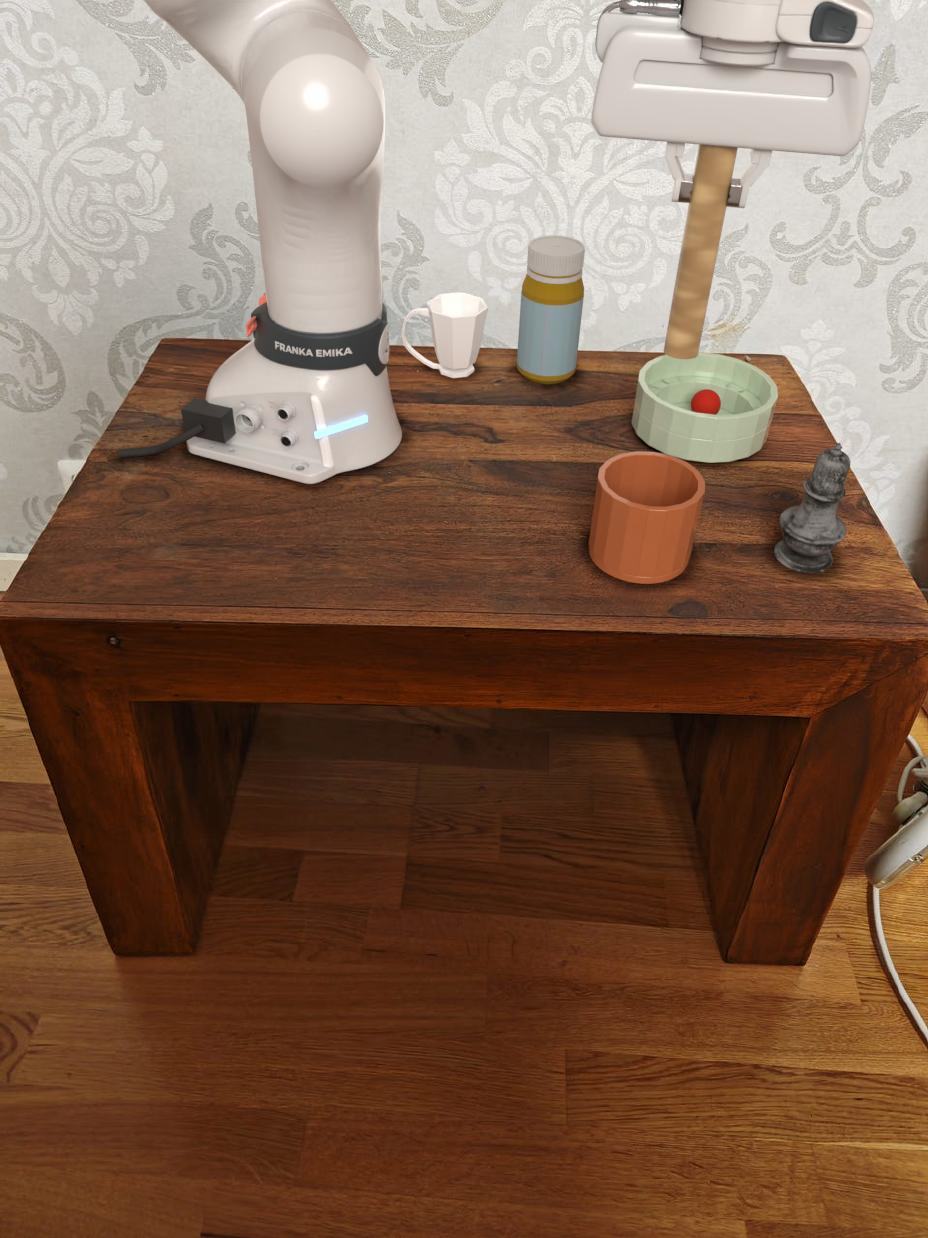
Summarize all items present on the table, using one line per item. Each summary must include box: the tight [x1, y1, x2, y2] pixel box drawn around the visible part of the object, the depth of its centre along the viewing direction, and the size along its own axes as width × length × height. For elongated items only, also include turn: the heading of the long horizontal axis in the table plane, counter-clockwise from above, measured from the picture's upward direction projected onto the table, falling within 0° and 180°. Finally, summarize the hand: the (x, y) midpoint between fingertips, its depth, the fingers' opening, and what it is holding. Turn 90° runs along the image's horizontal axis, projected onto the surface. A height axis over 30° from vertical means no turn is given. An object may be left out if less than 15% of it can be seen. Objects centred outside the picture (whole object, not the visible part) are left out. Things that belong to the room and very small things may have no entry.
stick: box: [663, 144, 739, 359], centre depth 80 cm, size 3×3×18 cm
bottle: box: [516, 235, 586, 385], centre depth 110 cm, size 7×7×15 cm
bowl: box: [631, 351, 779, 464], centre depth 104 cm, size 14×14×6 cm
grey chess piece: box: [773, 442, 852, 574], centre depth 86 cm, size 6×6×12 cm
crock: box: [587, 450, 706, 585], centre depth 87 cm, size 9×9×8 cm
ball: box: [691, 389, 721, 415], centre depth 105 cm, size 3×3×3 cm
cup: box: [400, 291, 489, 379], centre depth 113 cm, size 7×10×8 cm
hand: (708, 202), depth 78 cm, fingers closed on stick, 3 cm apart
